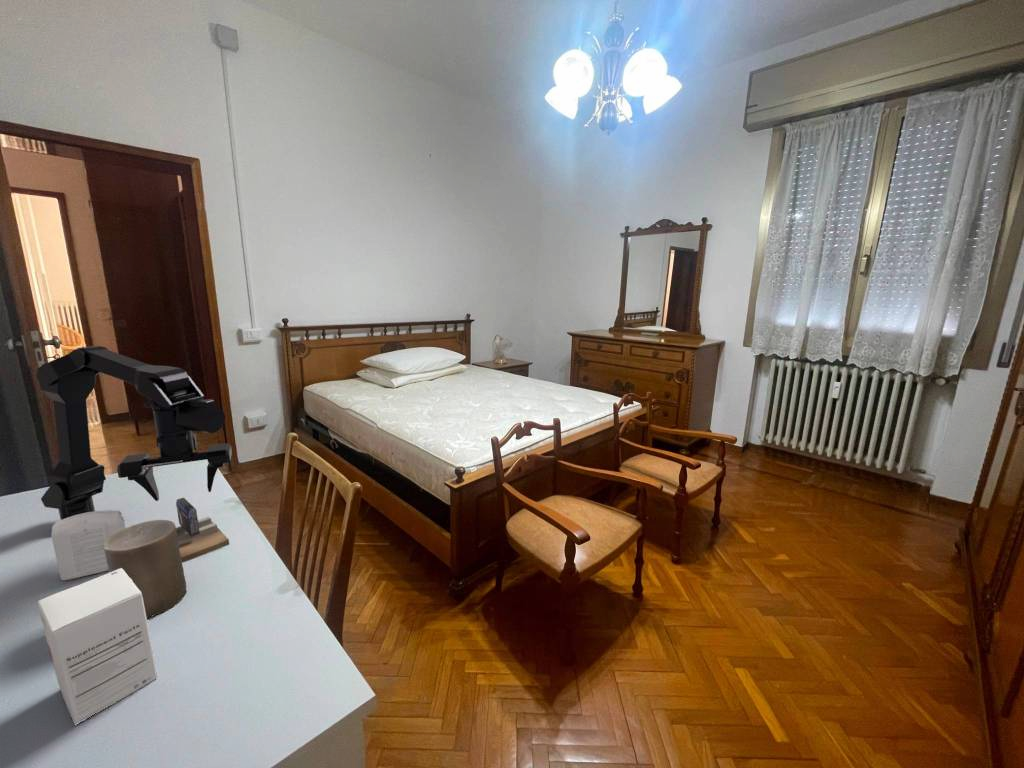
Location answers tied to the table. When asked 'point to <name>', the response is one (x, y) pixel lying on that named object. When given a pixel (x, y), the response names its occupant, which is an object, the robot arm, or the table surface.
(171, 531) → the pillar candle
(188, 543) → the rail panel
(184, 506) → the mini dv tape
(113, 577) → the supplement box
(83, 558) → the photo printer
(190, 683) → the table surface
